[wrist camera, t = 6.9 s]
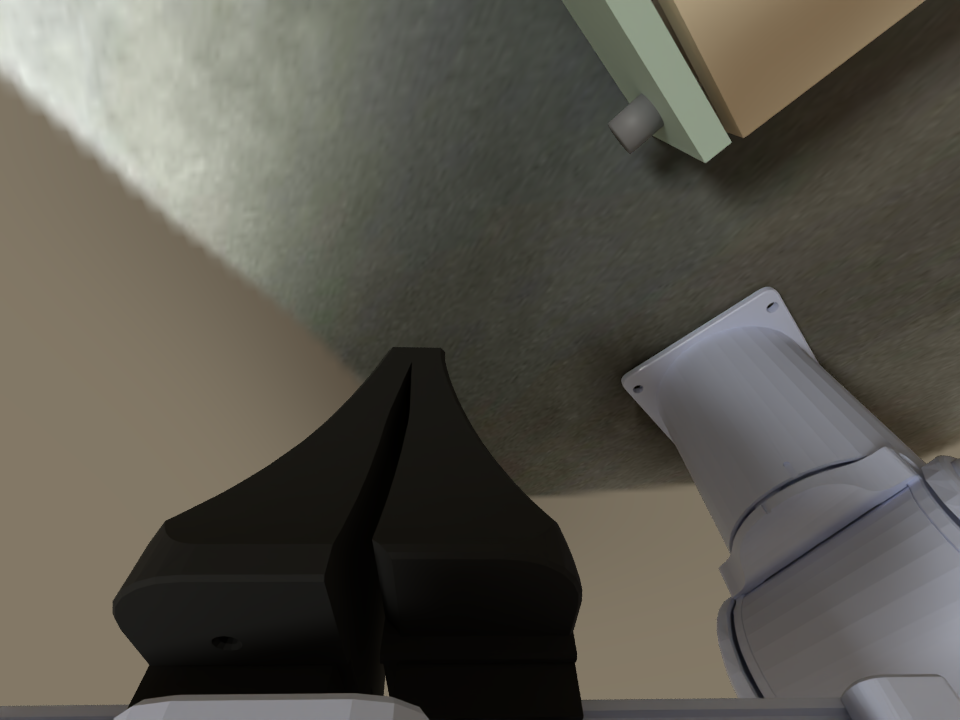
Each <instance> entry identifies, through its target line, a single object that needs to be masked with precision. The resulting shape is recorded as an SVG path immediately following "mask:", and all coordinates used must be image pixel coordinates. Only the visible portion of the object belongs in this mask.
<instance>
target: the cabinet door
mask: <svg viewBox="0 0 960 720" xmlns="http://www.w3.org/2000/svg"><path fill="white" fill-rule="evenodd" d="M562 2H563V3H564V5H565V6H566V8H567V9H568V11H569V12H570V14H571V16H572V17H573V19H574V20H575V22H576V23H577V25H578V26H579V28H580V29H581V31H582V32H583V34H584V35H585V37H586V38H587V40H588V41H589V43H590V44H591V46H592V47H593V49H594V51H595V52H596V54H597V55H598V57H599V58H600V60H601V61H602V63H603V64H604V66H605V67H606V69H607V70H608V72H609V73H610V75H611V76H612V78H613V79H614V81H615V82H616V84H617V85H618V87H619V89H620V90H621V92H622V93H623V95H624V96H625V98H626V99H627V101H628V102H629V105H627V106H626V107H625V108H624V109H623V110H622V111H621V112H620V113H619V114H618V115H617V116H615V117H614V118H613V119H612V120H611V121H610V122H609V123H608V126H609V128H610V130H611V131H612V133H613V134H614V136H615V137H616V138H617V140H618V141H619V142H620V144H621V145H622V146H623V147H624V149H625V150H626V151H627V152H628V153H629V154H631V153H632V152H634V151H635V150H636V149H637V148H638V147H639V146H641V145H642V144H643V143H644V142H645V141H646V140H648V139H649V138H650V137H651V136H654V137H656V138H658V139H660V140H662V141H664V142H666V143H668V144H670V145H671V146H673V147H675V148H677V149H679V150H681V151H683V152H685V153H687V154H689V155H690V156H692V157H694V158H696V159H698V160H700V161H702V162H704V163H706V162H708V161H709V160H710V159H711V158H713V157H714V156H715V155H717V154H718V153H719V152H720V151H722V150H723V149H724V148H725V147H727V146H728V145H729V144H730V143H732V142H731V140H730V138H729V137H728V135H727V133H726V131H725V130H724V128H723V126H722V124H721V123H720V121H719V119H718V117H717V116H716V114H715V112H714V110H713V108H712V107H711V105H710V103H709V101H708V100H707V98H706V96H705V94H704V93H703V91H702V89H701V87H700V86H699V84H698V82H697V80H696V79H695V77H694V75H693V73H692V72H691V70H690V68H689V66H688V65H687V63H686V61H685V59H684V58H683V56H682V54H681V52H680V51H679V49H678V47H677V45H676V44H675V42H674V40H673V38H672V37H671V35H670V33H669V31H668V29H667V28H666V26H665V24H664V22H663V21H662V19H661V17H660V15H659V14H658V12H657V10H656V8H655V7H654V5H653V3H652V1H651V0H562Z"/></svg>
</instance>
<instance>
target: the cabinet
mask: <svg viewBox="0 0 960 720" xmlns="http://www.w3.org/2000/svg"><path fill="white" fill-rule="evenodd" d="M651 1H652V3H653V5H654V7H655V8H656V10H657V12H658V14H659V15H660V17H661V19H662V21H663V22H664V24H665V26H666V28H667V29H668V31H669V33H670V35H671V37H672V38H673V40H674V42H675V44H676V45H677V47H678V49H679V51H680V52H681V54H682V56H683V58H684V59H685V61H686V63H687V65H688V66H689V68H690V70H691V72H692V73H693V75H694V77H695V79H696V80H697V82H698V84H699V86H700V87H701V89H702V91H703V93H704V94H705V96H706V98H707V100H708V101H709V103H710V105H711V107H712V108H713V110H714V112H715V114H716V116H717V117H718V119H719V121H720V123H721V124H722V126H723V128H724V130H725V131H726V132H728V133H731V134H733V135H736V136H739V137H742V138H745V137H746V136H747V135H749V134H750V133H751V132H753V131H754V130H755V129H757V128H758V127H759V126H761V125H762V124H763V123H765V122H766V121H767V120H769V119H770V118H771V117H773V116H774V115H775V114H776V113H778V112H779V111H780V110H782V109H783V108H784V107H786V106H787V105H788V104H790V103H791V102H792V101H794V100H795V99H796V98H798V97H799V96H800V95H801V94H803V93H804V92H805V91H807V90H808V89H809V88H811V87H812V86H813V85H815V84H816V83H817V82H819V81H820V80H821V79H823V78H824V77H825V76H826V75H828V74H829V73H830V72H832V71H833V70H834V69H836V68H837V67H838V66H840V65H841V64H842V63H844V62H845V61H846V60H848V59H849V58H850V57H851V56H853V55H854V54H855V53H857V52H858V51H859V50H861V49H862V48H863V47H865V46H866V45H867V44H869V43H870V42H871V41H873V40H874V39H875V38H877V37H878V36H879V35H880V34H882V33H883V32H884V31H886V30H887V29H888V28H890V27H891V26H892V25H894V24H895V23H896V22H898V21H899V20H900V19H902V18H903V17H904V16H905V15H907V14H908V13H909V12H911V11H912V10H913V9H915V8H916V7H917V6H919V5H920V4H921V3H923V2H924V1H925V0H651Z"/></svg>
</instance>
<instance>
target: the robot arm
mask: <svg viewBox="0 0 960 720" xmlns="http://www.w3.org/2000/svg"><path fill="white" fill-rule="evenodd" d="M773 302H774V304H773V305H772V306H771V307H770V308H767V306H768V305H769V304H771V303H773ZM621 383H622V385H623V387H624V389H625V390H626V391H627V392H628V393H629V394H630V395H631V396H632V397H633V399H634V400H635V401H636V402H637V403H638V404H639V405H640V406H641V407H642V409H643V410H644V411H645V412H646V413H647V414H648V415H649V416H650V417H651V419H652V420H653V421H654V422H655V423H656V424H657V425H658V426H659V427H660V429H661V430H662V431H663V432H664V433H665V434H666V435H667V436H668V437H669V439H670V440H671V441H672V442H673V443H674V444H675V446H676V448H677V450H678V451H679V453H680V455H681V457H682V459H683V461H684V463H685V465H686V467H687V469H688V471H689V473H690V475H691V477H692V479H693V481H694V483H695V485H696V487H697V489H698V491H699V493H700V495H701V497H702V499H703V501H704V503H705V504H706V507H707V509H708V511H709V513H710V515H711V516H712V518H713V520H714V522H715V524H716V526H717V528H718V530H719V532H720V534H721V536H722V538H723V540H724V542H725V544H726V546H727V548H728V550H729V551H730V554H731V555H730V557H729V558H728V559H727V561H726V562H725V563H724V564H722V565H721V566H720V567H719V570H720V573H721V575H722V577H723V579H724V581H725V583H726V585H727V587H728V589H729V592H730V594H731V597H730V598H728V599H727V600H726V601H724V603H723V604H722V606H721V608H720V609H719V613H718V617H717V635H718V641H719V647H720V651H721V654H722V658H723V661H724V665H725V668H726V671H727V674H728V677H729V679H730V682H731V684H732V686H733V688H734V691H735V693H736V695H737V697H738V698H729V699H727V698H720V699H625V700H581V697H580V691H579V686H578V680H577V673H576V667H575V662H576V660H577V651H576V645H575V639H574V634H573V630H574V627H575V623H576V620H577V616H578V613H579V609H580V606H581V602H582V586H581V582H580V578H579V574H578V572H577V568H576V565H575V562H574V560H573V557H572V554H571V552H570V549H569V547H568V545H567V542H566V540H565V538H564V536H563V534H562V532H561V530H560V528H559V526H558V524H557V522H555V521H554V520H553V519H552V518H551V517H550V516H548V515H547V514H546V513H545V512H544V511H543V510H542V509H540V508H539V507H538V506H537V505H536V504H535V503H534V502H533V501H532V500H531V499H530V498H529V497H528V496H527V495H526V494H525V493H524V492H523V491H522V490H521V489H520V488H519V487H518V486H517V485H516V484H515V483H514V482H513V480H512V479H511V478H510V477H509V476H508V475H507V473H506V472H505V471H504V470H503V469H502V467H501V466H500V465H499V464H498V463H497V462H496V460H495V459H494V458H493V457H492V455H491V454H490V452H489V451H488V450H487V448H486V447H485V445H484V444H483V443H482V441H481V440H480V438H479V437H478V435H477V433H476V432H475V430H474V429H473V427H472V425H471V423H470V422H469V420H468V418H467V416H466V414H465V412H464V411H463V409H462V407H461V404H460V402H459V400H458V398H457V396H456V393H455V391H454V388H453V386H452V383H451V381H450V378H449V374H448V371H447V367H446V363H445V352H444V351H443V350H442V349H441V348H408V347H393V348H392V349H390V350H389V351H388V353H387V354H386V355H385V357H384V358H383V359H382V361H381V362H380V363H379V365H378V366H377V367H376V368H375V370H374V371H373V372H372V373H371V375H370V376H369V377H368V378H367V379H366V380H365V382H364V383H363V384H362V385H361V386H360V387H359V388H358V390H357V391H356V392H355V393H354V394H353V395H352V396H351V397H350V398H349V399H348V400H347V401H346V402H345V403H344V404H343V405H342V407H341V408H339V409H338V411H337V412H335V413H334V414H333V415H332V416H331V417H330V418H329V419H328V420H327V421H326V422H325V423H324V424H323V425H322V426H320V427H319V428H318V429H317V430H316V431H315V432H314V433H312V434H311V435H310V436H309V437H307V438H306V439H305V440H304V441H302V442H301V443H300V444H298V445H297V446H296V447H294V448H293V449H291V450H290V451H289V452H287V453H286V454H284V455H283V456H281V457H280V458H279V459H277V460H276V461H274V462H273V463H271V464H270V465H268V466H267V467H265V468H264V469H262V470H261V471H259V472H257V473H256V474H254V475H252V476H251V477H249V478H248V479H246V480H244V481H242V482H241V483H239V484H237V485H235V486H234V487H232V488H230V489H228V490H226V491H225V492H223V493H221V494H219V495H217V496H215V497H213V498H211V499H209V500H207V501H205V502H203V503H201V504H199V505H197V506H195V507H193V508H191V509H189V510H187V511H185V512H183V513H181V514H179V515H177V516H175V517H173V518H171V519H168V520H166V521H165V522H164V524H163V525H162V526H161V528H160V529H159V531H158V532H157V533H156V535H155V536H154V537H153V539H152V540H151V541H150V543H149V544H148V546H147V547H146V549H145V551H144V552H143V554H142V556H141V557H140V559H139V560H138V562H137V563H136V565H135V567H134V568H133V570H132V572H131V573H130V575H129V576H128V578H127V579H126V581H125V583H124V584H123V586H122V588H121V589H120V591H119V592H118V594H117V595H116V597H115V599H114V600H113V615H114V618H115V620H116V621H117V623H118V625H119V627H120V629H121V630H122V632H123V633H124V634H125V635H126V637H127V638H128V639H129V640H130V642H131V643H132V644H133V645H134V646H135V648H136V649H137V650H138V651H139V652H140V654H141V655H142V656H143V657H144V659H145V660H146V661H147V662H148V664H149V667H148V669H147V671H146V673H145V675H144V677H143V679H142V681H141V683H140V685H139V687H138V689H137V691H136V693H135V695H134V697H133V699H132V700H131V703H130V704H129V705H65V706H64V705H57V706H56V705H55V706H0V720H960V459H957V458H954V457H950V456H937V457H935V459H933V460H932V461H930V462H929V463H928V464H926V463H925V462H924V461H923V460H922V459H921V458H920V457H919V456H917V455H916V454H915V453H914V452H913V451H912V450H911V449H910V448H909V447H908V446H907V445H906V444H905V443H903V442H902V441H901V440H900V439H899V438H898V437H897V436H896V435H895V434H894V433H893V432H892V431H891V430H889V429H888V428H887V427H886V426H885V425H884V424H883V423H882V422H881V421H880V420H879V419H878V418H877V417H875V416H874V415H873V414H872V413H871V412H870V411H869V410H868V409H867V408H866V407H865V406H864V405H863V404H861V403H860V402H859V401H858V400H857V399H856V398H855V397H854V396H853V395H852V394H851V393H850V392H849V391H847V390H846V389H845V388H844V387H843V386H842V385H841V384H840V383H839V382H838V381H837V380H836V379H835V378H833V377H832V376H831V375H830V374H829V373H828V372H827V371H826V370H825V369H824V368H823V367H822V366H820V365H819V363H818V361H817V360H816V358H815V356H814V354H813V353H812V351H811V349H810V347H809V345H808V344H807V342H806V340H805V338H804V337H803V335H802V333H801V331H800V330H799V328H798V326H797V324H796V323H795V321H794V319H793V317H792V316H791V314H790V312H789V310H788V309H787V307H786V305H785V303H784V302H783V300H782V298H781V296H780V295H779V293H778V292H777V291H776V290H775V289H774V288H772V287H764V288H761V289H759V290H758V291H756V292H755V293H753V294H751V295H750V296H748V297H747V298H745V299H743V300H742V301H740V302H739V303H737V304H736V305H734V306H732V307H731V308H729V309H728V310H726V311H724V312H723V313H721V314H720V315H718V316H716V317H715V318H713V319H712V320H710V321H709V322H707V323H705V324H704V325H702V326H701V327H699V328H697V329H696V330H694V331H693V332H691V333H689V334H688V335H686V336H685V337H683V338H681V339H680V340H678V341H677V342H675V343H674V344H672V345H670V346H669V347H667V348H666V349H664V350H662V351H661V352H659V353H658V354H656V355H654V356H653V357H651V358H650V359H648V360H647V361H645V362H643V363H642V364H640V365H639V366H637V367H635V368H634V369H632V370H631V371H629V372H627V373H626V374H625V375H624V376H623V377H622V379H621ZM637 385H641V386H640V387H639V388H636V389H634V387H635V386H637ZM385 676H386V681H387V686H388V691H389V697H388V696H384V695H383V694H384V682H385Z"/></svg>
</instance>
